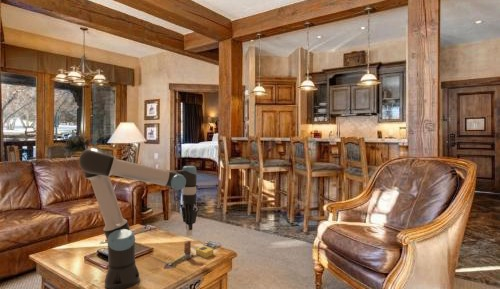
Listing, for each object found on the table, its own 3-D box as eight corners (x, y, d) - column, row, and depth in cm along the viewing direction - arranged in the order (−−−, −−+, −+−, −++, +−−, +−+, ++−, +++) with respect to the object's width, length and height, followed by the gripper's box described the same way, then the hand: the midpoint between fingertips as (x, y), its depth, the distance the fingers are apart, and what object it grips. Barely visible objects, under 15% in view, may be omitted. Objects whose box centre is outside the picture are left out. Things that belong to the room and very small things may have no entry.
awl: (187, 261, 167) (186, 243, 166) (183, 259, 169) (183, 242, 169) (192, 259, 170) (191, 241, 169) (188, 257, 172) (187, 240, 171)
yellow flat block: (205, 257, 169) (205, 252, 169) (195, 254, 174) (195, 248, 174) (213, 254, 173) (213, 248, 173) (203, 250, 178) (203, 245, 178)
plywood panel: (201, 260, 168) (201, 258, 168) (180, 252, 179) (180, 250, 179) (219, 252, 179) (219, 250, 179) (199, 245, 190) (199, 243, 190)
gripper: (202, 194, 170) (202, 236, 172) (186, 191, 178) (186, 231, 179) (192, 196, 165) (191, 239, 166) (176, 193, 172) (176, 234, 173)
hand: (189, 235), depth 172 cm, fingers closed
